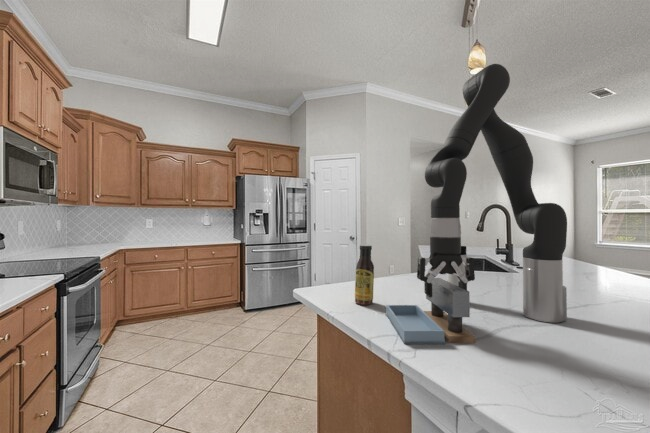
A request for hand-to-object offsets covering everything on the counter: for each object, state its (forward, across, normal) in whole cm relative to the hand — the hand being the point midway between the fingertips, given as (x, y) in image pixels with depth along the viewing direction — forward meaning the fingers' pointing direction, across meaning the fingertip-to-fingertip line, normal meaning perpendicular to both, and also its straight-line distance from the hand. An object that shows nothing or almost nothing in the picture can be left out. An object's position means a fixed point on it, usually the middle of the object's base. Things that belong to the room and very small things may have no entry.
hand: (445, 296), depth 75 cm
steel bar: (+3, 0, 0) cm, 3 cm away
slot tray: (+8, +9, 0) cm, 12 cm away
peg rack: (+8, 0, 0) cm, 8 cm away
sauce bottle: (+8, +18, -22) cm, 30 cm away
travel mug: (+8, -14, -23) cm, 28 cm away
